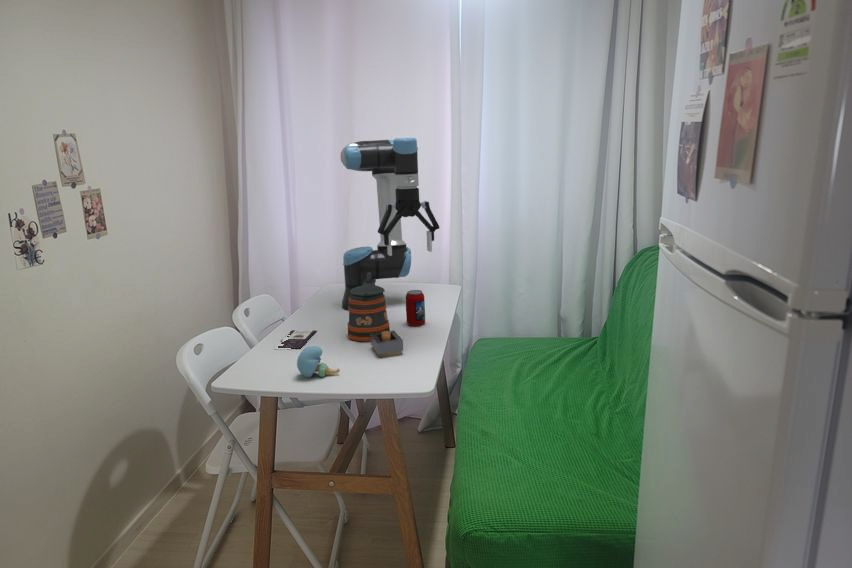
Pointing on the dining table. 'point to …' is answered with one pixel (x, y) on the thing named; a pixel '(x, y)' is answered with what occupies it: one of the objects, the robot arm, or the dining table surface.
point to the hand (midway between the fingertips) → (409, 253)
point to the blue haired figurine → (313, 362)
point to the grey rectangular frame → (386, 343)
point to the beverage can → (415, 307)
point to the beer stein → (367, 311)
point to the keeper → (386, 337)
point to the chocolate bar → (297, 339)
